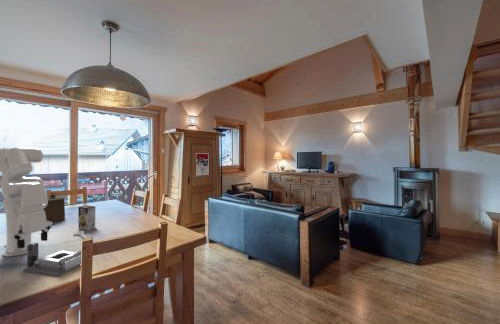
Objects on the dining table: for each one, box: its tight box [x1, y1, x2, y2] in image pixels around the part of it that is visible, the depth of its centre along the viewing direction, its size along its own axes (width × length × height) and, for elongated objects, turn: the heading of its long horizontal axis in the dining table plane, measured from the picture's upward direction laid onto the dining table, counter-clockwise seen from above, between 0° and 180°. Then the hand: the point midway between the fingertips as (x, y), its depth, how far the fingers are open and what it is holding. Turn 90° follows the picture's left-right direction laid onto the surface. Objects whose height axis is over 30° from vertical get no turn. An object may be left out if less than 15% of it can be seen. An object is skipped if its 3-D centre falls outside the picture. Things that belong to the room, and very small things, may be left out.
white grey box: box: [39, 250, 82, 271], centre depth 109 cm, size 15×11×5 cm
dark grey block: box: [26, 242, 40, 268], centre depth 110 cm, size 4×4×10 cm
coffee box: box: [77, 205, 96, 231], centre depth 166 cm, size 9×6×16 cm
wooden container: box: [43, 193, 66, 223], centre depth 185 cm, size 15×15×22 cm
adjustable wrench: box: [73, 230, 89, 239], centre depth 148 cm, size 25×6×2 cm, turn 47°
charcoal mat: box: [22, 264, 81, 278], centre depth 110 cm, size 20×16×1 cm
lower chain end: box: [34, 257, 63, 270], centre depth 110 cm, size 15×11×3 cm
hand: (33, 244), depth 109 cm, fingers open, 9 cm apart
